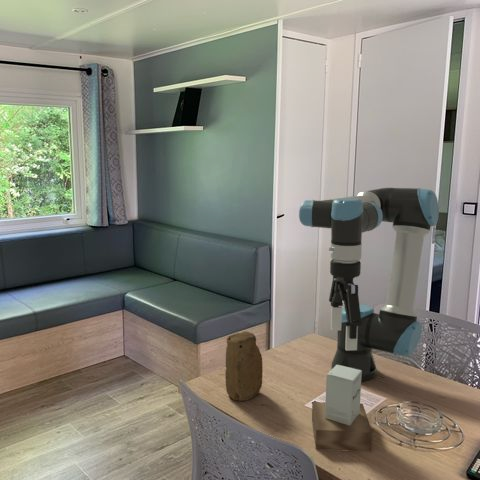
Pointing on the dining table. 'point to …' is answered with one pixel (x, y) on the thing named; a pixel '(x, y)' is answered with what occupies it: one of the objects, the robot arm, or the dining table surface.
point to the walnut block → (340, 431)
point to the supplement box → (343, 394)
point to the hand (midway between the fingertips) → (343, 339)
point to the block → (243, 366)
